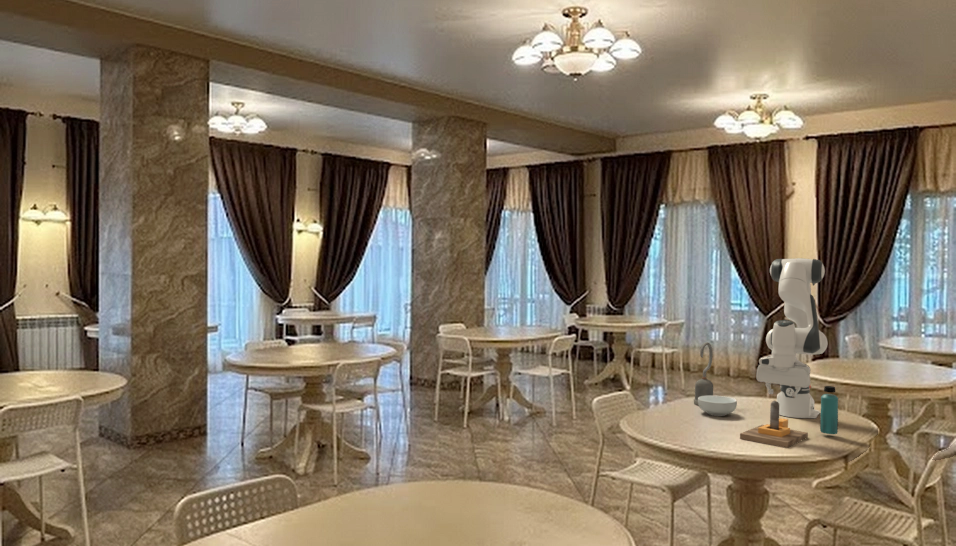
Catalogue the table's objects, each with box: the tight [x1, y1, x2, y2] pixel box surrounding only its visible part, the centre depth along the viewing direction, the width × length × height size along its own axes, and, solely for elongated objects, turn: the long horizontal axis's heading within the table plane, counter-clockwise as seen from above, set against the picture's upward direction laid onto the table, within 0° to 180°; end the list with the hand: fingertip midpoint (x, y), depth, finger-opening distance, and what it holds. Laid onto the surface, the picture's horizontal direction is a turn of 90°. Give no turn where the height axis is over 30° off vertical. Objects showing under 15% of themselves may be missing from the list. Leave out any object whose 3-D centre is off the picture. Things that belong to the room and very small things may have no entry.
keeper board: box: [739, 400, 809, 448], centre depth 282 cm, size 22×18×15 cm
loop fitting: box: [758, 417, 791, 437], centre depth 284 cm, size 15×9×4 cm, turn 137°
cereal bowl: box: [697, 395, 738, 417], centre depth 324 cm, size 17×17×7 cm
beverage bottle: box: [819, 385, 839, 435], centre depth 287 cm, size 6×7×20 cm
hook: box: [693, 341, 714, 406], centre depth 346 cm, size 10×12×30 cm
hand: (782, 395), depth 288 cm, fingers open, 8 cm apart
